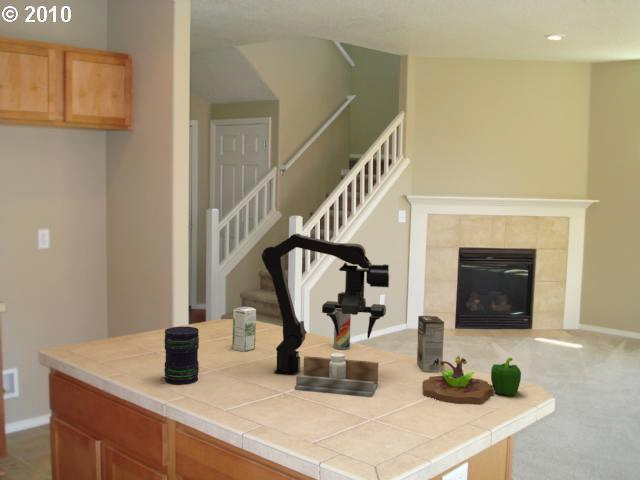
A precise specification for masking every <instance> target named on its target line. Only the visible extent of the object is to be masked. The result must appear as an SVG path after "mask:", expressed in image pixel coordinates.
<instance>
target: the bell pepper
mask: <svg viewBox="0 0 640 480" xmlns="http://www.w3.org/2000/svg"><path fill="white" fill-rule="evenodd" d="M513 360H514V359H513V358H512V357H509V358H507V359H506V361H505V363H501V364H496V363H495V364H493V365H492V367H491V371H490V380H491V385H492V386H493V392H494V393H496V394H498V395H506V396H509V397H511V396H516V394H517V393H518V390H519V387H520V384H521V381H522V380H521V379H522V372H521V368H519V367H518V365H517V364H511V365H510V363H511V362H512V361H513Z"/></svg>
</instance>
